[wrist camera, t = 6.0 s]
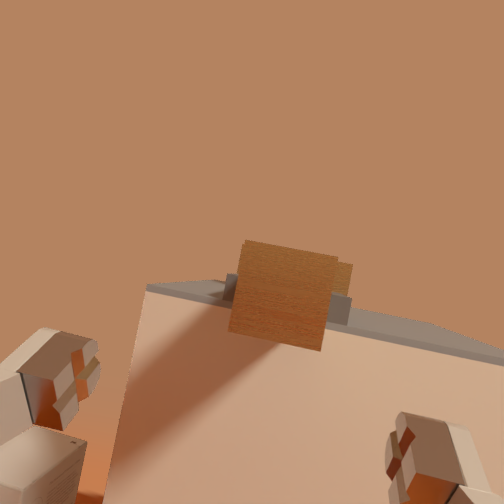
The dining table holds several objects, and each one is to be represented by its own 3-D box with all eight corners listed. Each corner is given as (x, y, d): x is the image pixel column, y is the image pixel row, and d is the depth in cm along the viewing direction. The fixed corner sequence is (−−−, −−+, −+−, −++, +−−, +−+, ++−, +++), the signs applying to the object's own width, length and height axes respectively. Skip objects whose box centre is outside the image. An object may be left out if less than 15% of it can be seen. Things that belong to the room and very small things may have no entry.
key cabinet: (382, 596, 36) (433, 308, 37) (466, 913, 18) (560, 340, 19) (164, 532, 39) (217, 265, 40) (51, 752, 21) (152, 258, 22)
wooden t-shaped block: (339, 305, 37) (346, 265, 37) (437, 377, 11) (460, 246, 11) (240, 285, 38) (248, 246, 38) (125, 309, 13) (150, 191, 13)
